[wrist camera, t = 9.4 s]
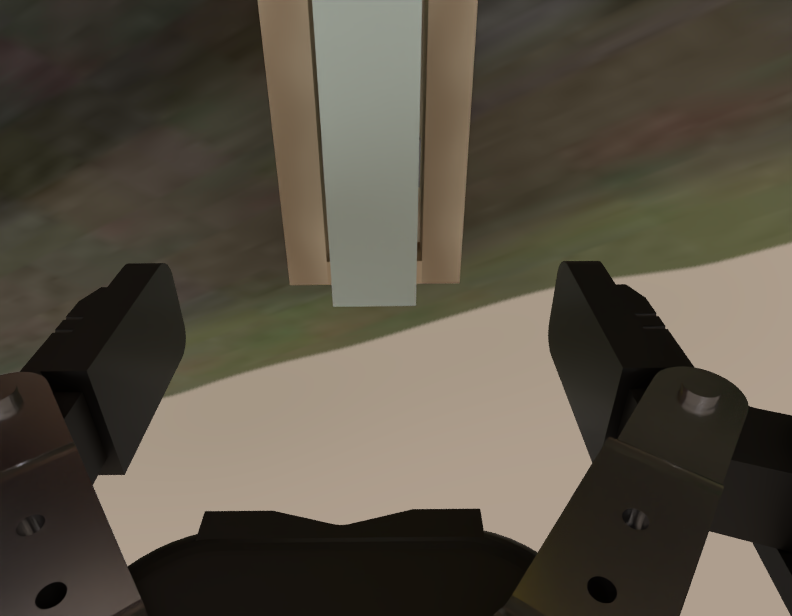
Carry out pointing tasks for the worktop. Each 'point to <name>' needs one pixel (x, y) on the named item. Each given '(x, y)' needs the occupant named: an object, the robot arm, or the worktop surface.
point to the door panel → (370, 145)
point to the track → (439, 131)
